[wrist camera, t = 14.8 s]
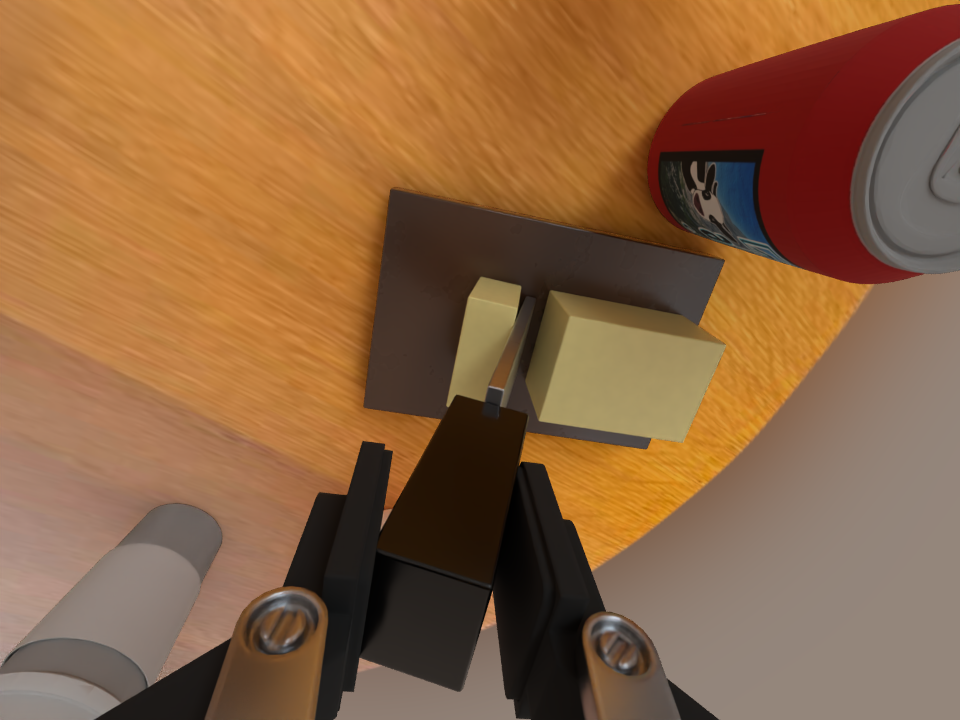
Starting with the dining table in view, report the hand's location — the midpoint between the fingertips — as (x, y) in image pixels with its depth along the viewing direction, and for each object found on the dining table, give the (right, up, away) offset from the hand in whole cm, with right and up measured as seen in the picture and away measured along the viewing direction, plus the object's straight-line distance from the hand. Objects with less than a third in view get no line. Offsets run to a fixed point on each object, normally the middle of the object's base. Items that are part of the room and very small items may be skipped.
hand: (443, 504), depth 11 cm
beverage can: (+12, +13, +10) cm, 20 cm away
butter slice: (+1, +5, +11) cm, 12 cm away
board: (+4, +5, +13) cm, 15 cm away
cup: (-17, -7, +17) cm, 26 cm away
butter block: (+7, +4, +12) cm, 15 cm away
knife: (+3, +5, +11) cm, 13 cm away
